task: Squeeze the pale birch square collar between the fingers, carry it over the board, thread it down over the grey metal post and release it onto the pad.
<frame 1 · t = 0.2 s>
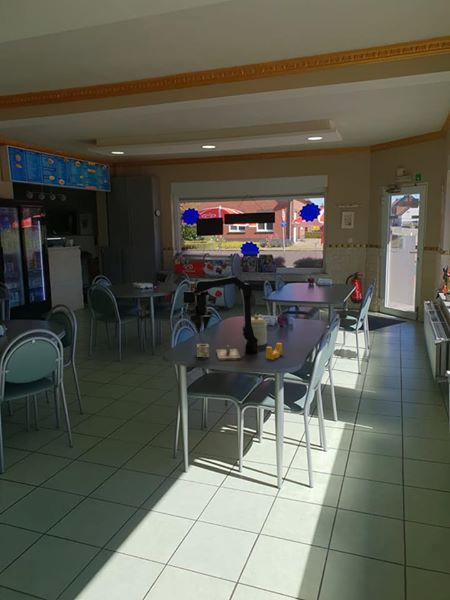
hand: (202, 330, 261), 14 cm above the table, fingers open, 9 cm apart
jar: (256, 343, 287), on the table
collar: (202, 355, 260), on the table
pipe clamp: (275, 357, 258), on the table
post board: (228, 355, 260), on the table
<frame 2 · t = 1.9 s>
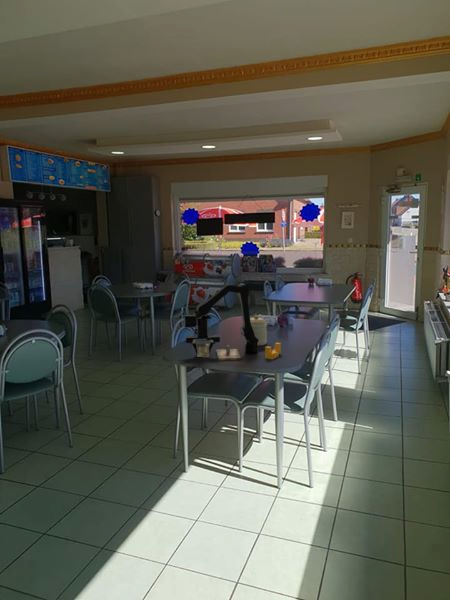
hand: (202, 354, 260), 1 cm above the table, fingers closed on collar, 6 cm apart
collar: (202, 355, 260), on the table, touching gripper
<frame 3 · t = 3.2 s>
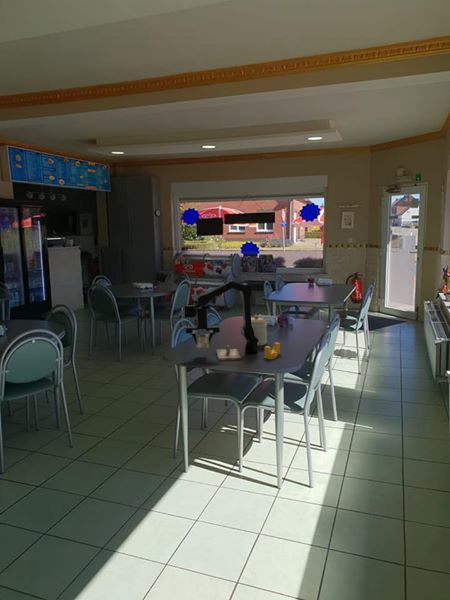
hand: (202, 344, 259), 6 cm above the table, fingers closed on collar, 6 cm apart
collar: (202, 346, 259), point 5 cm above the table, touching gripper
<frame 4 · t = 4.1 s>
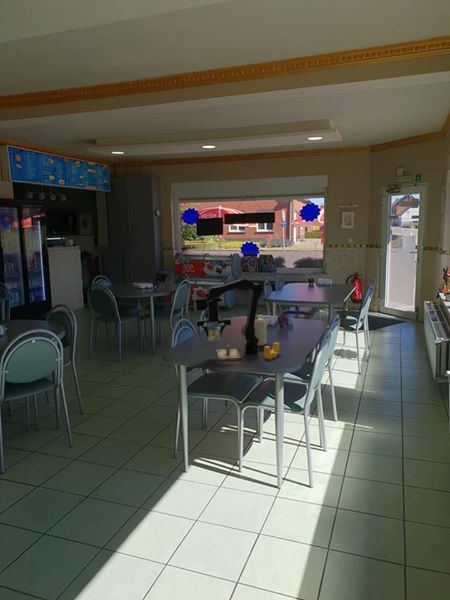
hand: (214, 337, 259), 10 cm above the table, fingers closed on collar, 6 cm apart
collar: (214, 339, 259), point 9 cm above the table, touching gripper
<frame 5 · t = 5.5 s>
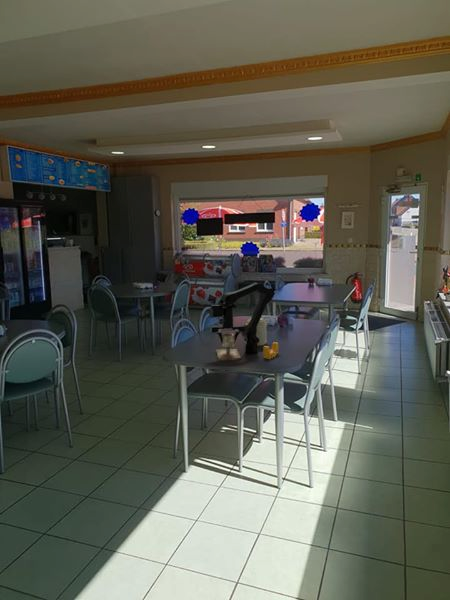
hand: (228, 343, 259), 7 cm above the table, fingers closed on collar, 6 cm apart
collar: (228, 345, 259), point 6 cm above the table, touching gripper
when the fingers open (4 cm above the table, at t = 6.6 s): collar drops 1 cm, resting on post board.
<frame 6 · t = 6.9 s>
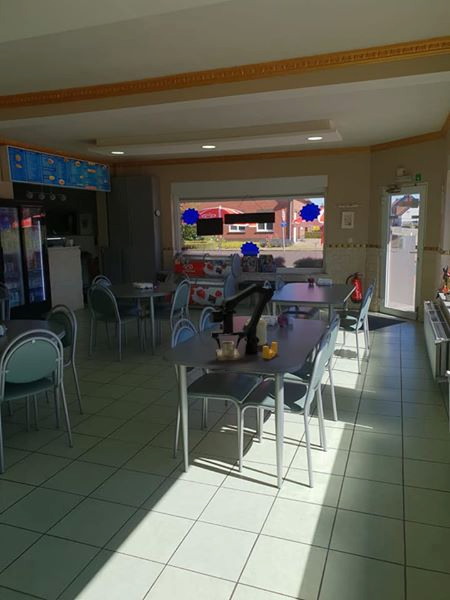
hand: (228, 349, 260), 4 cm above the table, fingers open, 9 cm apart
collar: (228, 353, 260), point 1 cm above the table, touching post board
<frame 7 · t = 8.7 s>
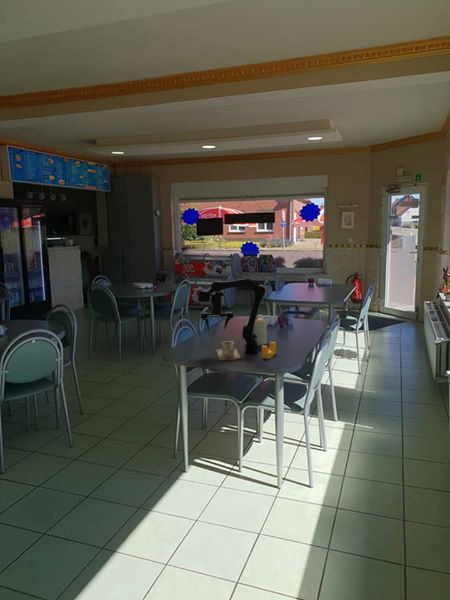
hand: (216, 329, 268), 12 cm above the table, fingers open, 9 cm apart
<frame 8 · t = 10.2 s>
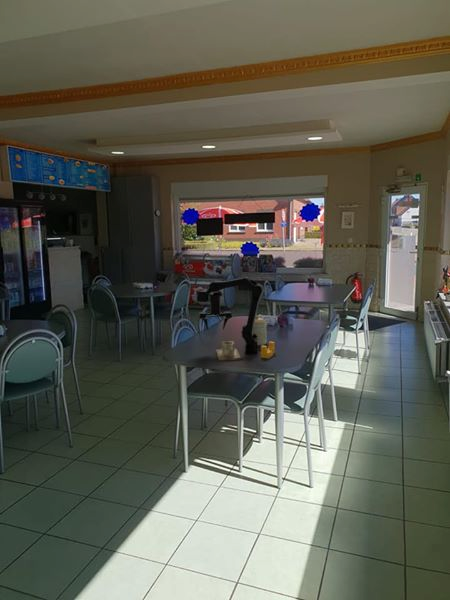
hand: (215, 329, 271), 12 cm above the table, fingers open, 9 cm apart
at the end: collar 0.0 cm off-centre on the post board, point 1.3 cm above the post board's base; collar tilted 0°; the gripper is holding nothing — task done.
